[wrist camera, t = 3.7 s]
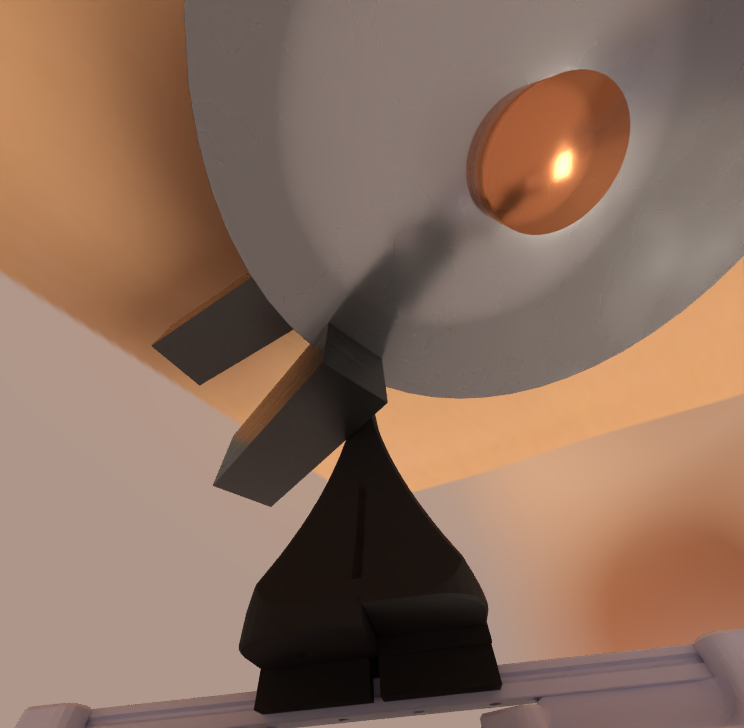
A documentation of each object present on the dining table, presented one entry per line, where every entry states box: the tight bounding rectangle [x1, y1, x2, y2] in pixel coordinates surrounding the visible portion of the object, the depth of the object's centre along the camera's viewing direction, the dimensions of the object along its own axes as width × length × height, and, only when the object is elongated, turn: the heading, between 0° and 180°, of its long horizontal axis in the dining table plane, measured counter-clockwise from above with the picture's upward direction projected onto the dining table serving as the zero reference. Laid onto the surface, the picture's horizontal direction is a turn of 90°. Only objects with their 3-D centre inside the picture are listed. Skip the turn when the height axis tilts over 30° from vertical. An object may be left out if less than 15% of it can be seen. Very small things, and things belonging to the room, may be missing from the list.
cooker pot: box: [152, 273, 293, 385], centre depth 12 cm, size 22×16×5 cm
